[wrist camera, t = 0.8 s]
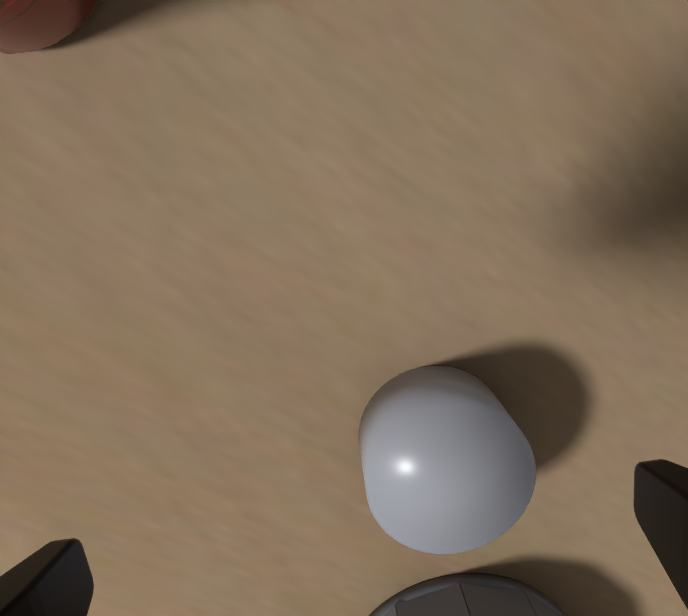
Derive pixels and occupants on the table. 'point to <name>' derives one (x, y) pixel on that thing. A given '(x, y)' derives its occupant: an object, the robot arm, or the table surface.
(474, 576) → the grey crown ring
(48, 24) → the soda can
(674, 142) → the table surface
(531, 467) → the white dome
